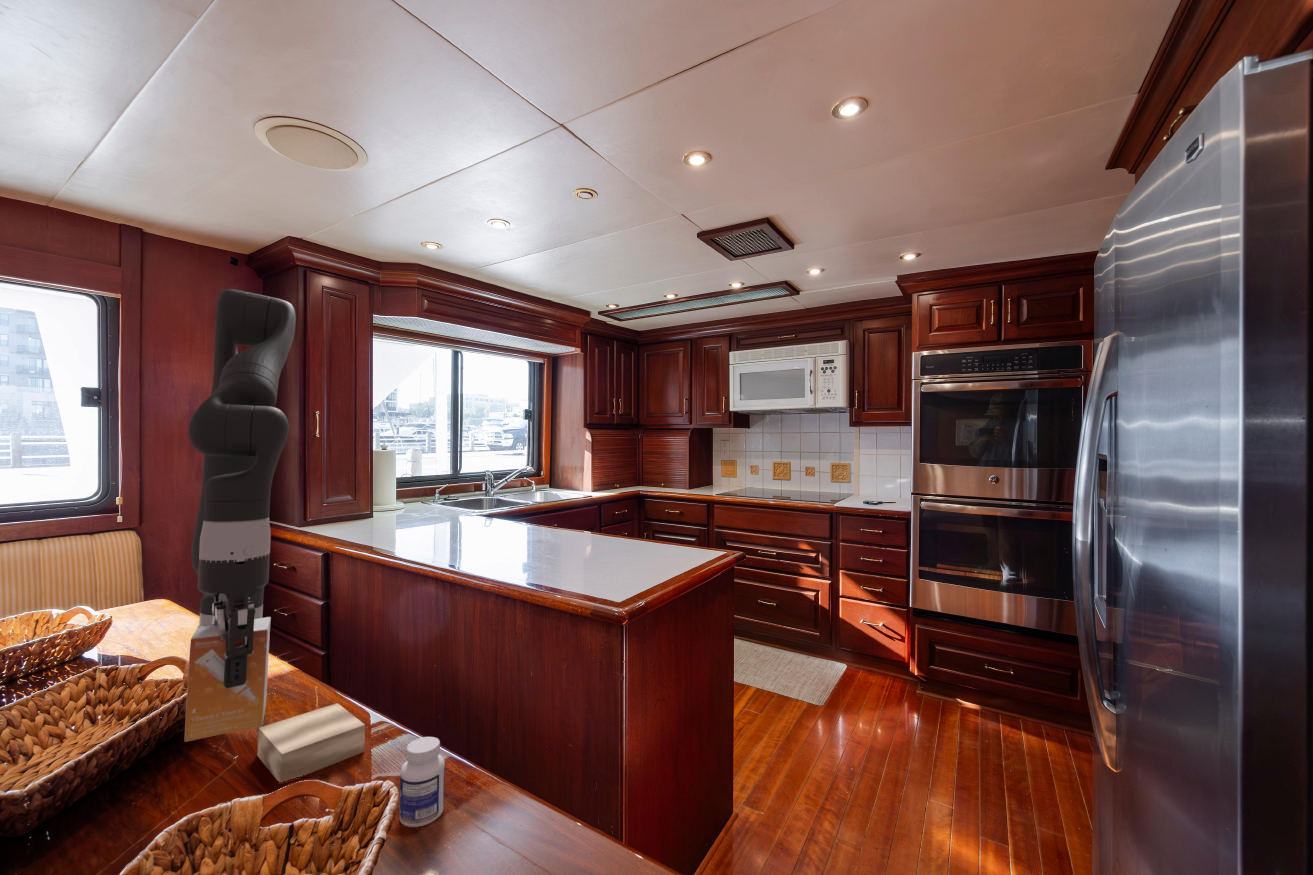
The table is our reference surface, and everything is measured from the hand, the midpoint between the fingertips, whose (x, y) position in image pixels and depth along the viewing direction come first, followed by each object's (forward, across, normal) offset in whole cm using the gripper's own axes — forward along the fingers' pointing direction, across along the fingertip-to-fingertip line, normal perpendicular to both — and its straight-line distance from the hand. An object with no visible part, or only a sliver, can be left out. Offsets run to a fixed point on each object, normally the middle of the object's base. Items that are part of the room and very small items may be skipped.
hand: (229, 676), depth 72 cm
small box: (+7, 0, 0) cm, 7 cm away
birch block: (+17, -5, +11) cm, 21 cm away
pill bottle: (+16, +21, +17) cm, 32 cm away
